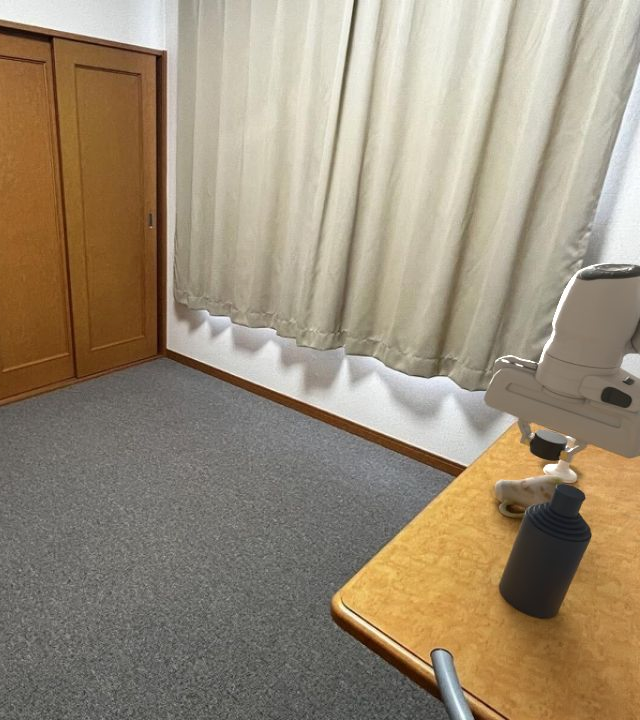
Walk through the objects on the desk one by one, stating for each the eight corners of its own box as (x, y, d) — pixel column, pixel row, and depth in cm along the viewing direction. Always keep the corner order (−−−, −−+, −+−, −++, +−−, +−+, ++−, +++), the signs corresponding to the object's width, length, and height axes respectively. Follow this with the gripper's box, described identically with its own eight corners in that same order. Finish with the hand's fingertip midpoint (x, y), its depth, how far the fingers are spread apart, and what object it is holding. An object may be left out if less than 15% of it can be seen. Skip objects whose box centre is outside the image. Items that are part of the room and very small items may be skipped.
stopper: (554, 464, 73) (561, 446, 72) (524, 451, 77) (530, 434, 75) (565, 455, 76) (572, 438, 74) (535, 443, 79) (542, 426, 77)
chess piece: (580, 476, 88) (599, 430, 84) (570, 486, 85) (589, 439, 81) (549, 464, 92) (565, 419, 88) (538, 473, 89) (555, 427, 85)
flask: (540, 580, 67) (583, 476, 60) (569, 622, 61) (620, 512, 54) (489, 575, 68) (525, 472, 61) (513, 615, 62) (556, 506, 55)
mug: (485, 486, 86) (531, 449, 82) (537, 528, 82) (588, 492, 78) (483, 499, 80) (531, 460, 76) (539, 545, 76) (593, 507, 72)
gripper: (488, 356, 77) (467, 429, 82) (659, 407, 61) (619, 493, 67) (507, 347, 80) (486, 418, 86) (674, 394, 64) (635, 477, 70)
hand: (545, 451), depth 76 cm, fingers closed on stopper, 4 cm apart
